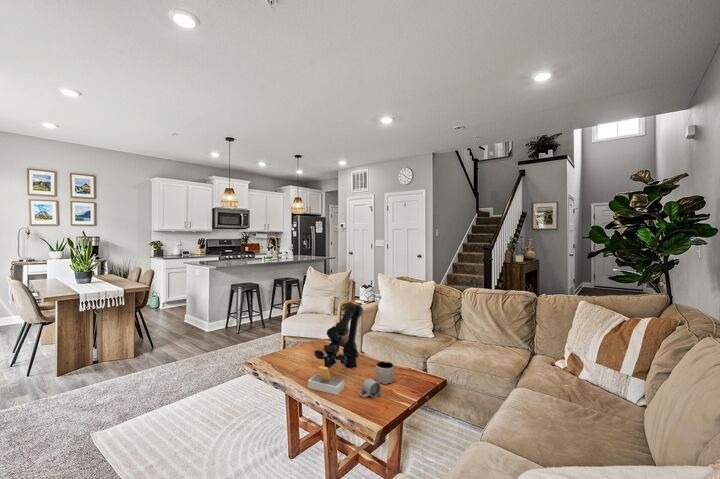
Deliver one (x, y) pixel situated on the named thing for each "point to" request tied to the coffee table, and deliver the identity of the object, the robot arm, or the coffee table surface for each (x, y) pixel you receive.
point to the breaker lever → (324, 373)
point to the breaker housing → (326, 384)
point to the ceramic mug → (370, 388)
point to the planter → (384, 372)
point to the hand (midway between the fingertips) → (325, 371)
